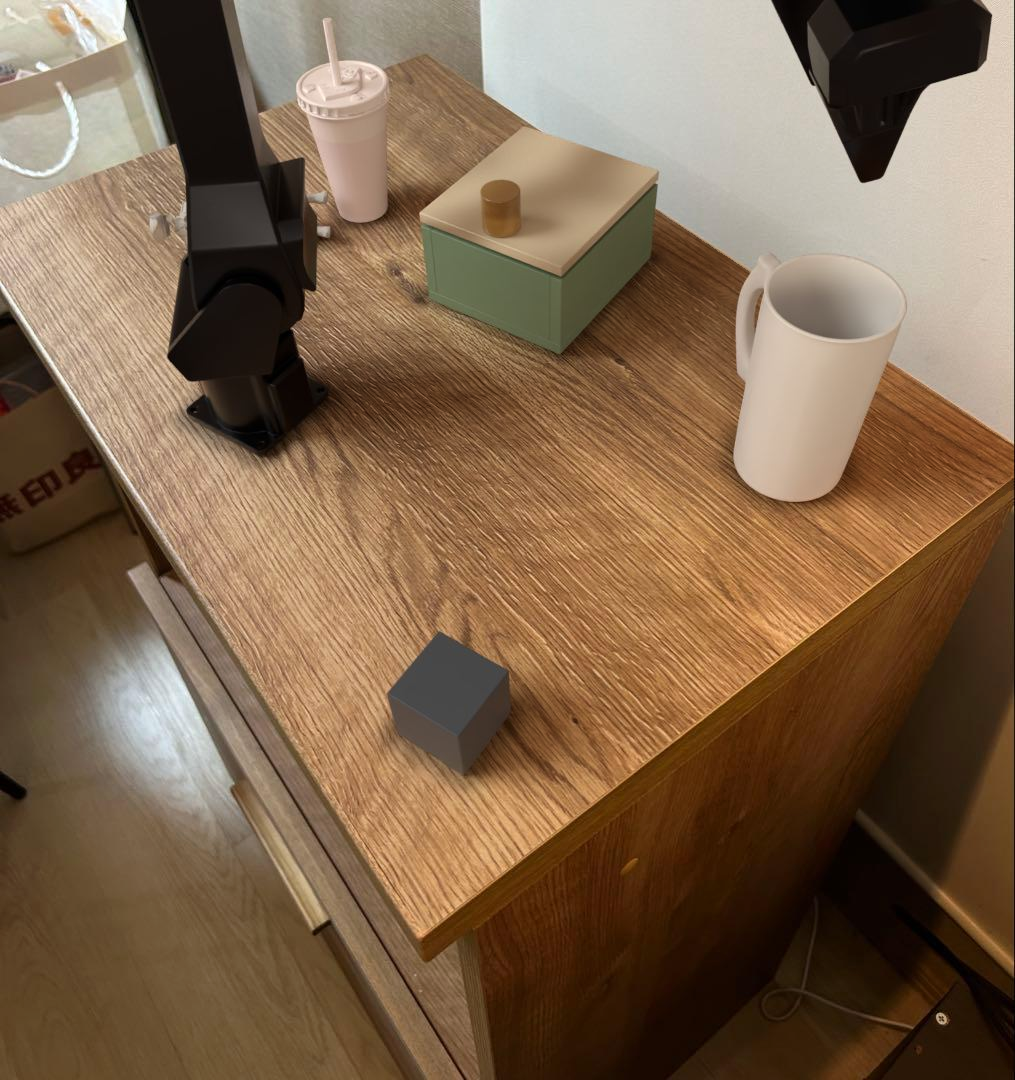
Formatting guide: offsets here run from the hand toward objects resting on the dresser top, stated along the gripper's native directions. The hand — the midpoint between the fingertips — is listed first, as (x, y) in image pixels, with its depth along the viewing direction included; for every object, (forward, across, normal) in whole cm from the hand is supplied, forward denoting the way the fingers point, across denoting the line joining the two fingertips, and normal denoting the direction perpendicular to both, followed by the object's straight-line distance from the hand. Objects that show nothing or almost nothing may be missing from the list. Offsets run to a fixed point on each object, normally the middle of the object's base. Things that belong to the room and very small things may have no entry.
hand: (844, 128), depth 51 cm
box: (+12, +9, +18) cm, 23 cm away
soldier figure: (+7, +15, +38) cm, 42 cm away
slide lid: (+6, +9, +17) cm, 20 cm away
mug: (+14, -8, +6) cm, 17 cm away
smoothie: (+9, +19, +30) cm, 37 cm away
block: (+10, -24, +25) cm, 36 cm away
